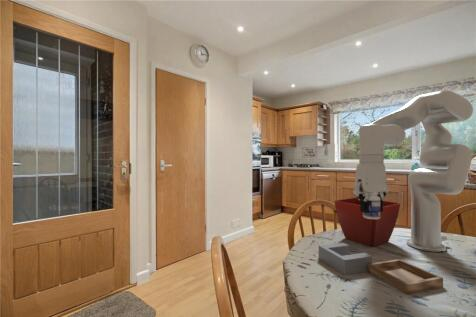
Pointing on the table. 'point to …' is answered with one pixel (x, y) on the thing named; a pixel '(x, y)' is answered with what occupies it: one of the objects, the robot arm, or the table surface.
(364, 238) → the plant pot
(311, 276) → the table surface
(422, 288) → the tray
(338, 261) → the dock
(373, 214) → the pill bottle
